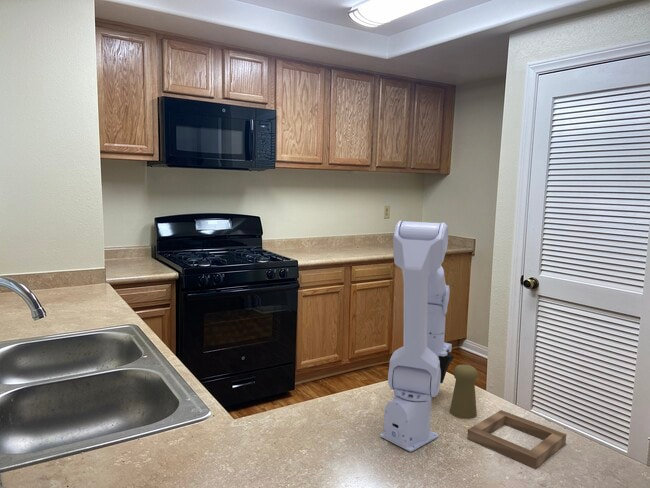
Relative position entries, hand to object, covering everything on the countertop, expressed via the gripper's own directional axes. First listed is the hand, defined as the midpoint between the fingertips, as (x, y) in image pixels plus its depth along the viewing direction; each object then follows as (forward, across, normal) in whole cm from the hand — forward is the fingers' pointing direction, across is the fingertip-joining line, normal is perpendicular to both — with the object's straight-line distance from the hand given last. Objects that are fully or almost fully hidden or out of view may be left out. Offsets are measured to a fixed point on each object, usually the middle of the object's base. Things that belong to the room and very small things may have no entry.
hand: (429, 385), depth 116 cm
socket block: (+3, -3, -23) cm, 24 cm away
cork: (+4, 0, -9) cm, 10 cm away
